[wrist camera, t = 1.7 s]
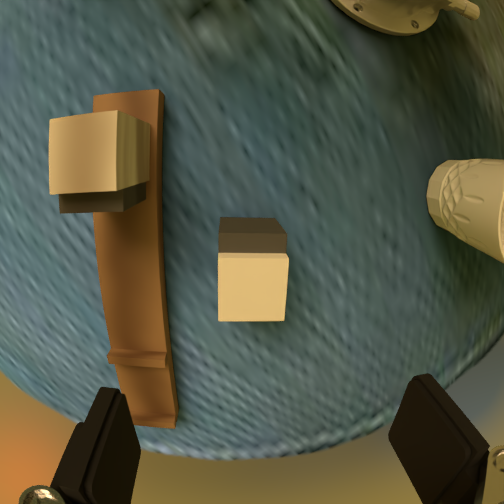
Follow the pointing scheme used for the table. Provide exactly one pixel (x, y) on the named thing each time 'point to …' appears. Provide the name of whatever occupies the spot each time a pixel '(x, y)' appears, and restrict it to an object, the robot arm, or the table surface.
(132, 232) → the rail
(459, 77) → the table surface
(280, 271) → the cream brown block
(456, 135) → the table surface
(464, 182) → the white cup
